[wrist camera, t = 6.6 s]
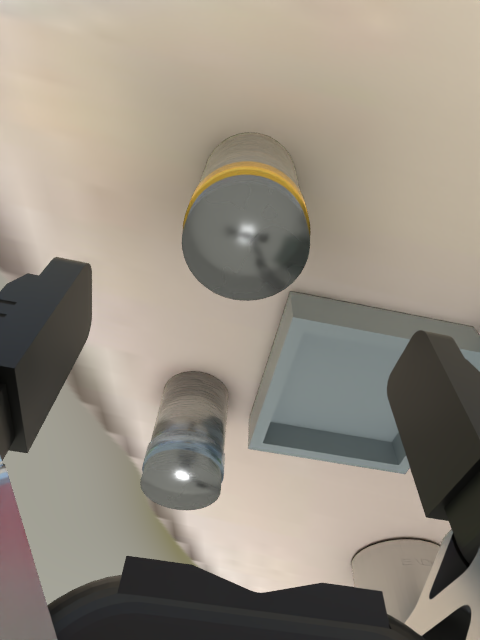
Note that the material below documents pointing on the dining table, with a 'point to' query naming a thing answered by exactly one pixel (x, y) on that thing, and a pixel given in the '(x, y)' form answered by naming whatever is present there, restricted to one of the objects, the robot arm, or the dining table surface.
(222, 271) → the grey gold-banded metal jar
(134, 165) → the dining table surface
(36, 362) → the robot arm
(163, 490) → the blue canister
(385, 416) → the tray
